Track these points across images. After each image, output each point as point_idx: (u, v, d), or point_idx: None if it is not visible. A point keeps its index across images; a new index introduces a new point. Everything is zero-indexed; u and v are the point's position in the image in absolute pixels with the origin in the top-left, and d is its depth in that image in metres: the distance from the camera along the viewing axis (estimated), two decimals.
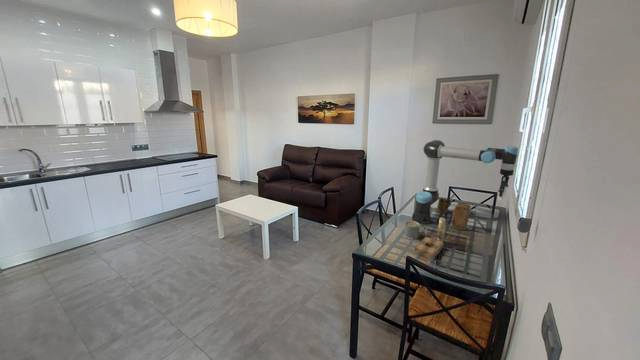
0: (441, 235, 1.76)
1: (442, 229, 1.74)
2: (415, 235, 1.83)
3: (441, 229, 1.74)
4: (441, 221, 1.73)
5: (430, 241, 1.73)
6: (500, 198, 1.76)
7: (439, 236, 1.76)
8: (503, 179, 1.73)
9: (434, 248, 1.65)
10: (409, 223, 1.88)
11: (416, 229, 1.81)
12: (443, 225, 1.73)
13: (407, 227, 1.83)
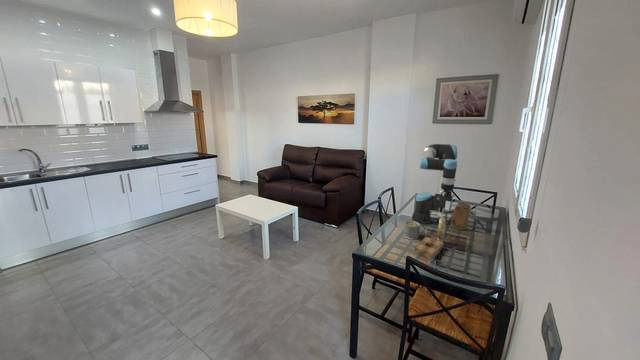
0: (441, 235, 1.76)
1: (442, 229, 1.74)
2: (415, 235, 1.83)
3: (441, 229, 1.74)
4: (441, 221, 1.73)
5: (430, 241, 1.73)
6: (440, 214, 1.67)
7: (439, 236, 1.76)
8: (442, 194, 1.63)
9: (434, 248, 1.65)
10: (409, 223, 1.88)
11: (416, 229, 1.81)
12: (443, 225, 1.73)
13: (407, 227, 1.83)
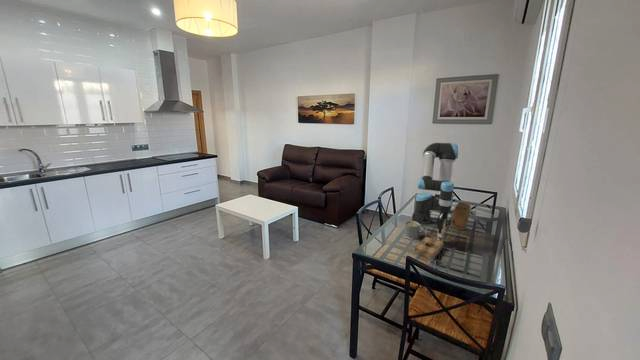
0: None
1: None
2: (415, 235, 1.83)
3: None
4: None
5: (430, 241, 1.73)
6: (439, 235, 1.75)
7: None
8: (439, 218, 1.69)
9: (434, 248, 1.65)
10: (409, 223, 1.88)
11: (416, 229, 1.81)
12: (443, 225, 1.73)
13: (407, 227, 1.83)
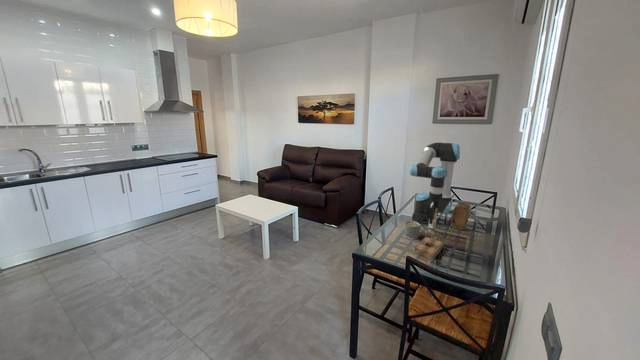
0: None
1: None
2: (415, 235, 1.83)
3: None
4: None
5: (430, 241, 1.73)
6: (431, 225, 1.62)
7: None
8: (430, 207, 1.56)
9: (434, 248, 1.65)
10: (409, 223, 1.88)
11: (416, 229, 1.81)
12: (434, 215, 1.60)
13: (407, 227, 1.83)
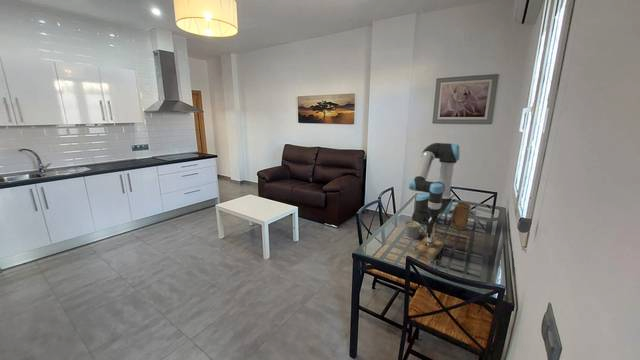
0: (431, 240, 1.65)
1: (432, 233, 1.64)
2: (415, 235, 1.83)
3: None
4: None
5: None
6: (429, 239, 1.65)
7: None
8: (428, 221, 1.59)
9: (434, 248, 1.65)
10: (409, 223, 1.88)
11: (416, 229, 1.81)
12: (433, 229, 1.63)
13: (407, 227, 1.83)
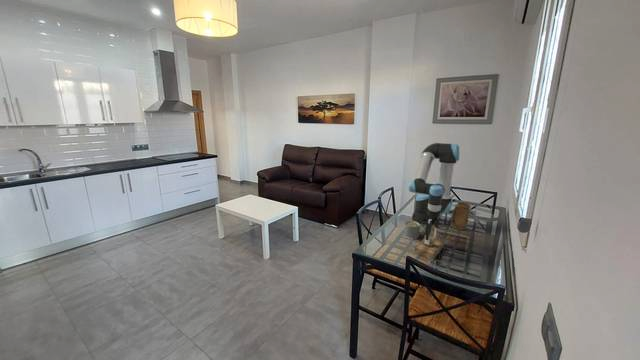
0: (430, 243, 1.66)
1: (431, 237, 1.65)
2: (415, 235, 1.83)
3: (430, 237, 1.65)
4: None
5: None
6: (427, 241, 1.62)
7: None
8: (428, 222, 1.58)
9: (434, 248, 1.65)
10: (409, 223, 1.88)
11: (416, 229, 1.81)
12: (432, 232, 1.64)
13: (407, 227, 1.83)
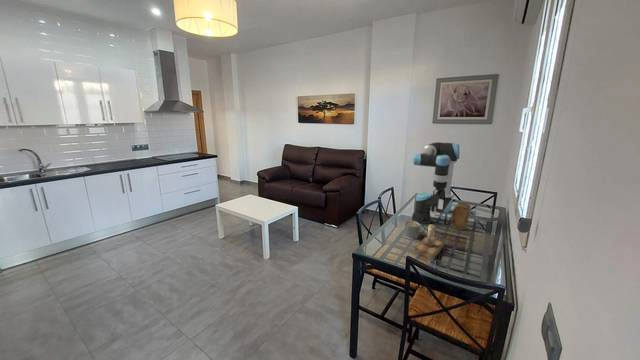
0: (430, 243, 1.66)
1: (431, 237, 1.65)
2: (415, 235, 1.83)
3: (430, 237, 1.65)
4: (430, 228, 1.64)
5: None
6: (432, 213, 1.58)
7: (428, 244, 1.67)
8: (434, 192, 1.54)
9: (434, 248, 1.65)
10: (409, 223, 1.88)
11: (416, 229, 1.81)
12: (432, 232, 1.64)
13: (407, 227, 1.83)
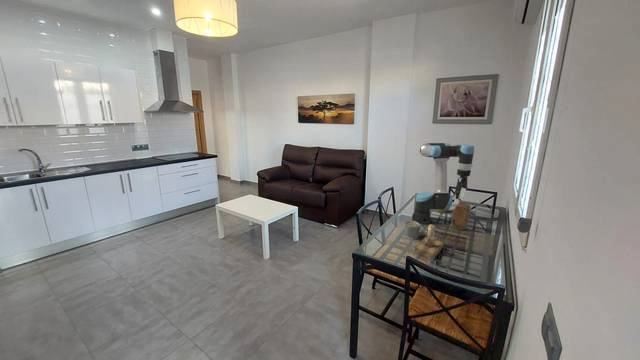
0: (430, 243, 1.66)
1: (431, 237, 1.65)
2: (415, 235, 1.83)
3: (430, 237, 1.65)
4: (430, 228, 1.64)
5: None
6: (457, 200, 1.64)
7: (428, 244, 1.67)
8: (459, 180, 1.60)
9: (434, 248, 1.65)
10: (409, 223, 1.88)
11: (416, 229, 1.81)
12: (432, 232, 1.64)
13: (407, 227, 1.83)
